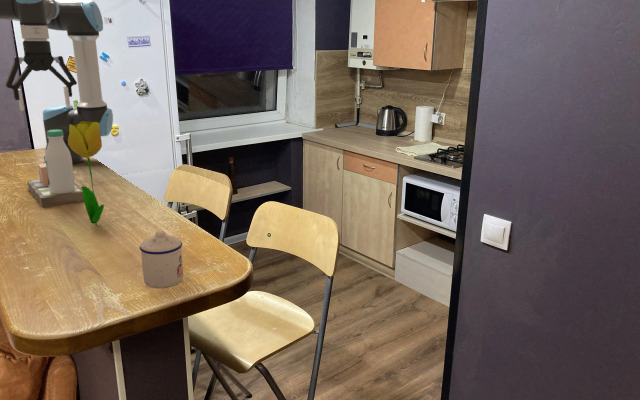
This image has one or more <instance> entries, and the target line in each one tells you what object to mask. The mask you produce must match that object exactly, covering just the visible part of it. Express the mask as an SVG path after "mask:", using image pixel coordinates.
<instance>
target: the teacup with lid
mask: <svg viewBox="0 0 640 400" xmlns="http://www.w3.org/2000/svg"><path fill="white" fill-rule="evenodd" d="M182 247H183V242H182V240H181V238H179V237H177V236H174V235H169V234H167V233H166V232H165V231H163V230H158V231H155V235H152V236H150V237H148V238H146V239H144V240H142V241H141V243H140V245H139V250H140V253H141V254H140V255H141V263H142V264H141V265H142V275H143V283H144V284H145V285H146V286H147V287H150V288H154V289H155V288H156V289H164V288H170V287H174V286H176V285H178V284H180V283H181V282H182V280H183V278H184V269H183V268H184V267H183V256H182V255H183V253H182V252H183V250H182Z"/></svg>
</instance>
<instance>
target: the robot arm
mask: <svg viewBox="0 0 640 400" xmlns="http://www.w3.org/2000/svg"><path fill="white" fill-rule="evenodd" d="M0 20H7V21H15V22H19V25H20V33H21V38H22V39H23V41H22V46H23V52H24V54H23V57H21V56H16V55H15V56H13V58H12V59H13V60H12V61H13V65H12V66H11V69H10V72H9V74H8V77H7V80H6V82H5V87H6V88H8V89H12V91H13V98H14V100H15V101H18V106H19V111H21V112H24V111H25V106H24V99H23V94H22V89H21V88H20V87H21V86H22V84H23V82H25V80H26V79H27V77H28V76H29V75H30V73H31V72H32V71H34V72H40V71H43V72H47V71H50V72H51V73H52V74H53V75H54V76H55V77H56V78H57V79H58V80H60V81H61V82H62V83H63V84H64V85H65V86H63V93H64V101H65V104H63V105H57V106H51V107H47V108H44V109H43V110H42V121H43V127H44V128H43V129H44V135H45V142H46V143H45V144H46V145H45V152H44V154H45V153H46V150H47V147H48V143H49V139H48V136H47V131H49V130H63V136H64V137H63V140H64V143H65V145H66V146H67V148H68V149H69V151H70V154H71V158H72V165H73V164H77V163H80V162H83V161H84V157H81V156H80V155H78V154H77V153H75V152H74V151H73V150H72V149H71V148H70V146H69V145H68V137H69V125H70V124H71V125H74V126H75V125H77V124H79V123H80V122H81V121H86V122H98V123H100V135H101V137H108V136H109V135H110V134H111V132H112V129H113V122H114V113H113V110H112V109H111V108H110V107H109V108H108V104H107V102H105V101H104V99H103V93H102V84H101V78H100V76H101V74H100V68H99V67H100V66H99V58H98V57H99V56H98V48H97V39H98V38H99V37H100V32H102V31H103V30H104V21H103V17H102V13H101V9H100V8H99V6H98V4H97V3H96V2H95V1H93V0H0ZM49 30H53V31H61V32H62V31H63V32H64V31H66V33H67V37H68V38H69V39H70V40H71V41H72V46H73V54H74V55H73V56H74V64H75V70H76V78H77V81H76V79H75V78H74V76H73V74H72V73H71V72H70V70H69V68H68V67H67V64H65V62H64V61H65V60H64V57H63V56H62V55H57V56H53V55H52V50H51V42H50V41H49V40H48V39H50V34H49ZM54 61H55V63H56V64H58V65H59V66H60V68H61V70H62V71H63V72H64V74H65V76H66V77H67V78H68V80H67V79H66V78H65V77H64V76H63V75H62V74H61V73H60V72H59V71H58V70H57V69H56V68H55V67H54V66H53V63H54ZM22 62H24V63H25V64H26V66H25V68H24V70H23V71H22V73H21V74H20V75H19V76H18V78H17V80H16V81H15V82H14V80H15V79H16V75H17V73H18V70H19V68H20V65H22ZM13 82H14V83H13ZM74 85H77V87H78V93H79V102H78V103H77V104H76V108H74V106H73V105H72V104H71V101H70V98H72V97H73V91H72V87H73V86H74ZM43 162H44V163H46V162H45V155H44V156H43ZM44 163H43V164H44Z"/></svg>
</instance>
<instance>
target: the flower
mask: <svg viewBox="0 0 640 400" xmlns="http://www.w3.org/2000/svg"><path fill="white" fill-rule="evenodd" d="M102 142H103V141H102V136H101V135H100V123H98V122H86V121H81V122H80V123H79V124H77V125H75V126H74V125H71V124H70V125H69V137H68V145H69V146H70V148H71V149H72V150H73V151H74V152H75V153H77V154H78V155H80V156H81V157H83V159H84V158H85V159H87V164H88V169H89V176H90V181H91V189H90V188H89V187H87V186H83V185H82V186H80V188H81V189H82V192H83V200H84V201H83V203H84V206H85V210H86V213H87V216H88V218H89V221H90V223H91V224H94V225H95V226H97V223H99V221H100V219H101V216H102V213H103V211H104V208H105V207H104V206H105V204H100V205H99V203H98V200H97V197H96V195H95V191H94V184H93V175H92V168H91V167H92V166H91V159H90V158H91V157H94V156H95V155H97V154H98V153H99V152H100V151H101V149H102V147H103V143H102Z"/></svg>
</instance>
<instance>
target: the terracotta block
mask: <svg viewBox="0 0 640 400" xmlns="http://www.w3.org/2000/svg"><path fill="white" fill-rule="evenodd" d="M37 169H38V175H39V180H40V181H41V182H42V184H43V185H47V184H48V177H47V170H46V163H37Z"/></svg>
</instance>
